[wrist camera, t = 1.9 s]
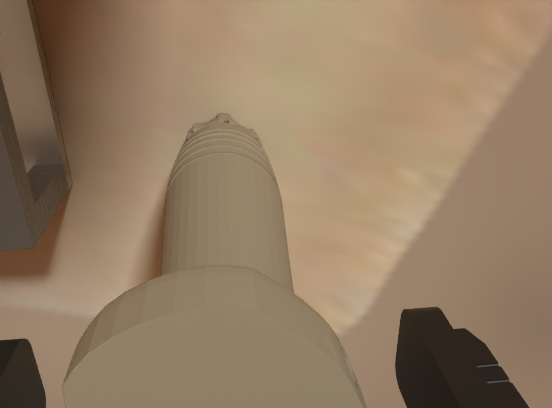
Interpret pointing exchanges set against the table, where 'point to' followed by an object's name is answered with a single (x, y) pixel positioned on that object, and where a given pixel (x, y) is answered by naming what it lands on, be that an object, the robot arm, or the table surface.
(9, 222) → the guard frame
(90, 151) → the table surface
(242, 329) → the handle
